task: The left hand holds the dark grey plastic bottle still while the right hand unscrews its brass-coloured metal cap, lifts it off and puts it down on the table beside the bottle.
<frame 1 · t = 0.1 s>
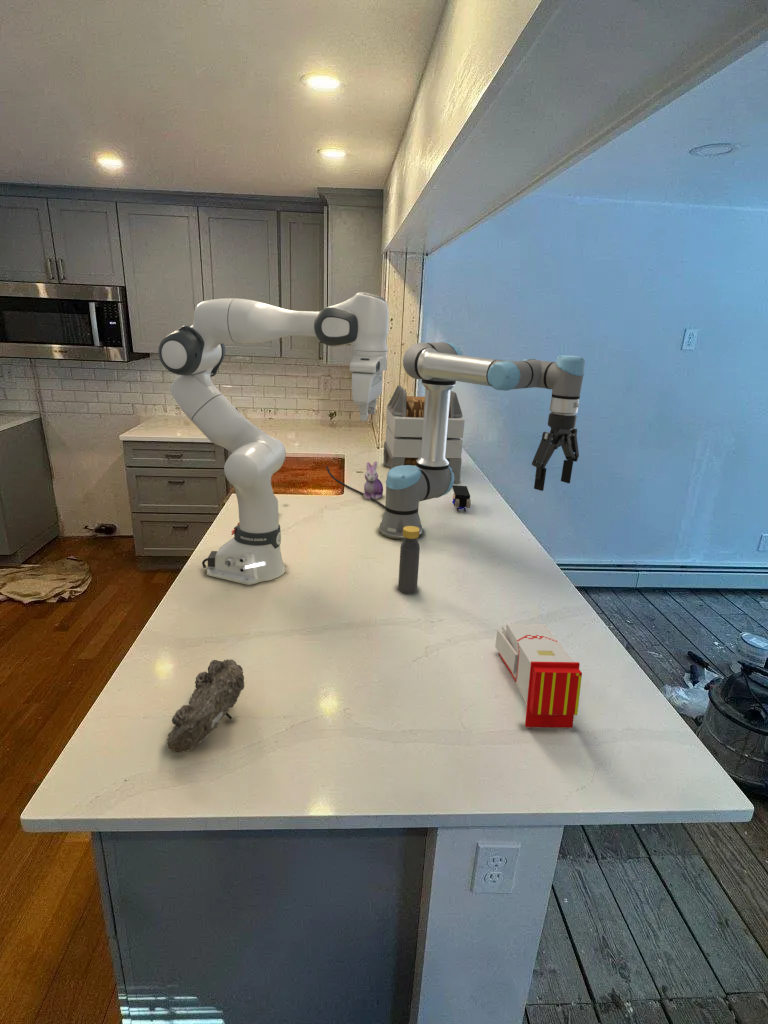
left hand: (367, 417, 147), 48 cm above the counter, tool pointing down, fingers open, 8 cm apart
right hand: (552, 485, 166), 28 cm above the counter, tool pointing down, fingers open, 13 cm apart
figurine: (372, 497, 237), on the counter
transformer: (419, 473, 275), on the counter
toy: (529, 684, 122), on the counter
bottle: (407, 589, 161), on the counter
figurine character: (460, 507, 229), on the counter
cap: (411, 529, 155), point 18 cm above the counter, screwed on, not yet turned
fossil: (212, 717, 108), on the counter
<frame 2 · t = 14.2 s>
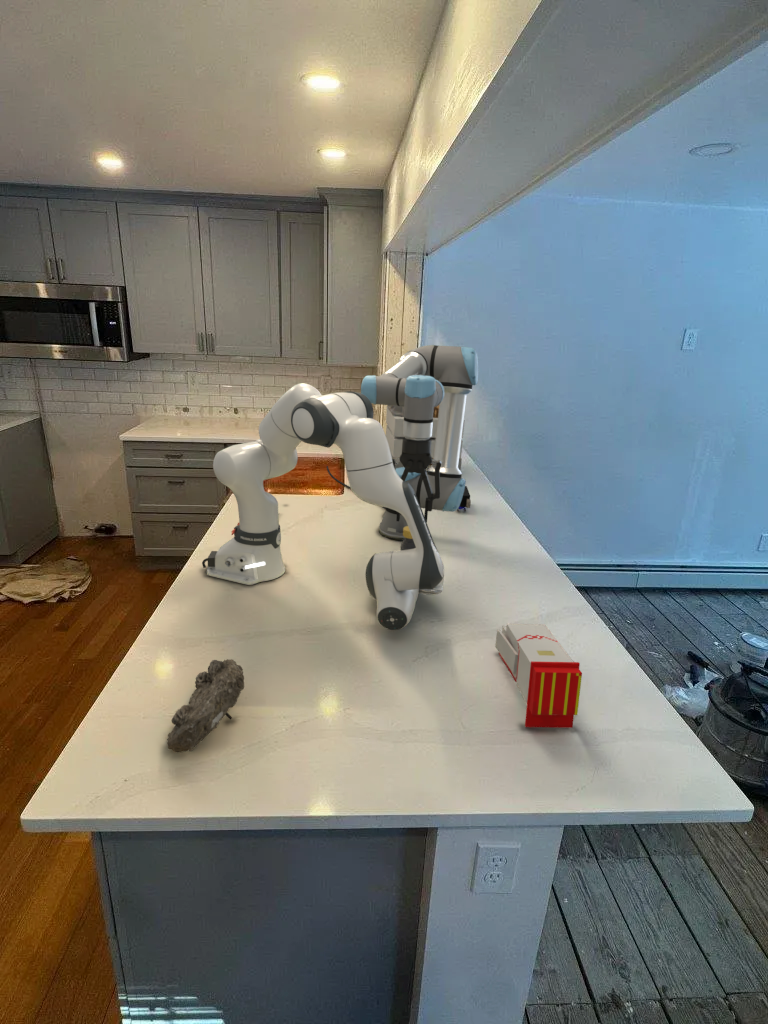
left hand: (409, 566, 159), 7 cm above the counter, tool horizontal, fingers closed on bottle, 5 cm apart
right hand: (411, 520, 154), 21 cm above the counter, tool pointing down, fingers open, 7 cm apart
bottle: (407, 589, 161), on the counter, touching left hand
everything else where it was.
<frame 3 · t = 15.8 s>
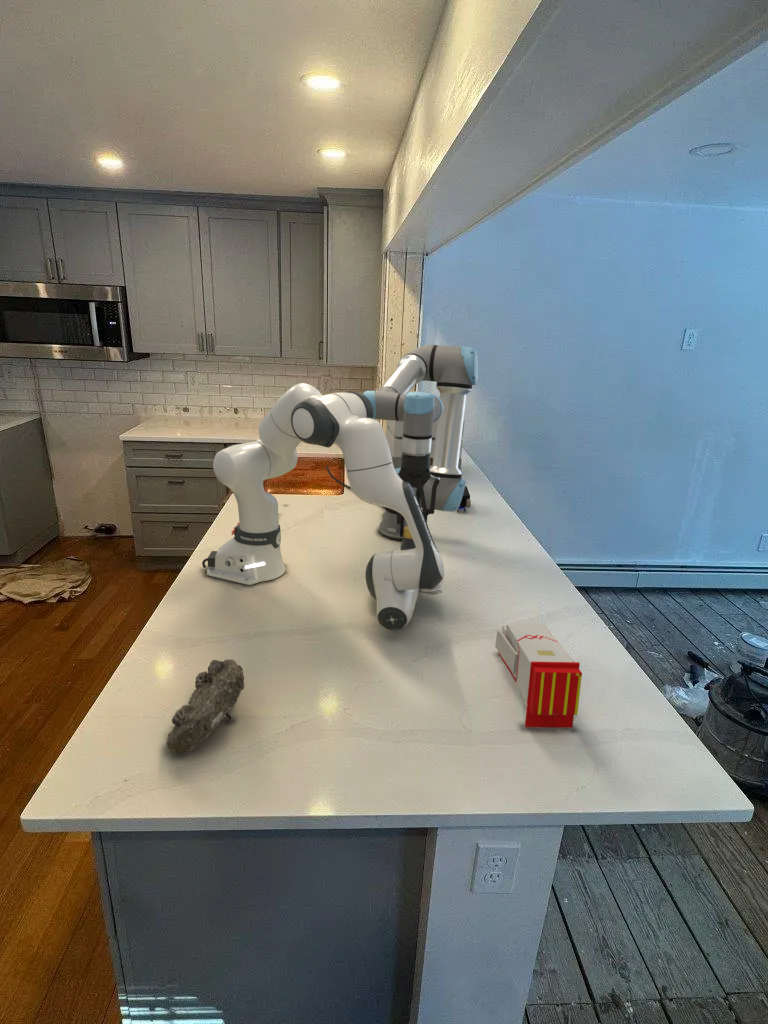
left hand: (409, 566, 159), 7 cm above the counter, tool horizontal, fingers closed on bottle, 5 cm apart
right hand: (411, 535, 155), 16 cm above the counter, tool pointing down, fingers closed on cap, 4 cm apart
bottle: (407, 589, 161), on the counter, touching left hand
cap: (411, 529, 155), point 18 cm above the counter, screwed on, not yet turned, touching right hand
everything else where it was.
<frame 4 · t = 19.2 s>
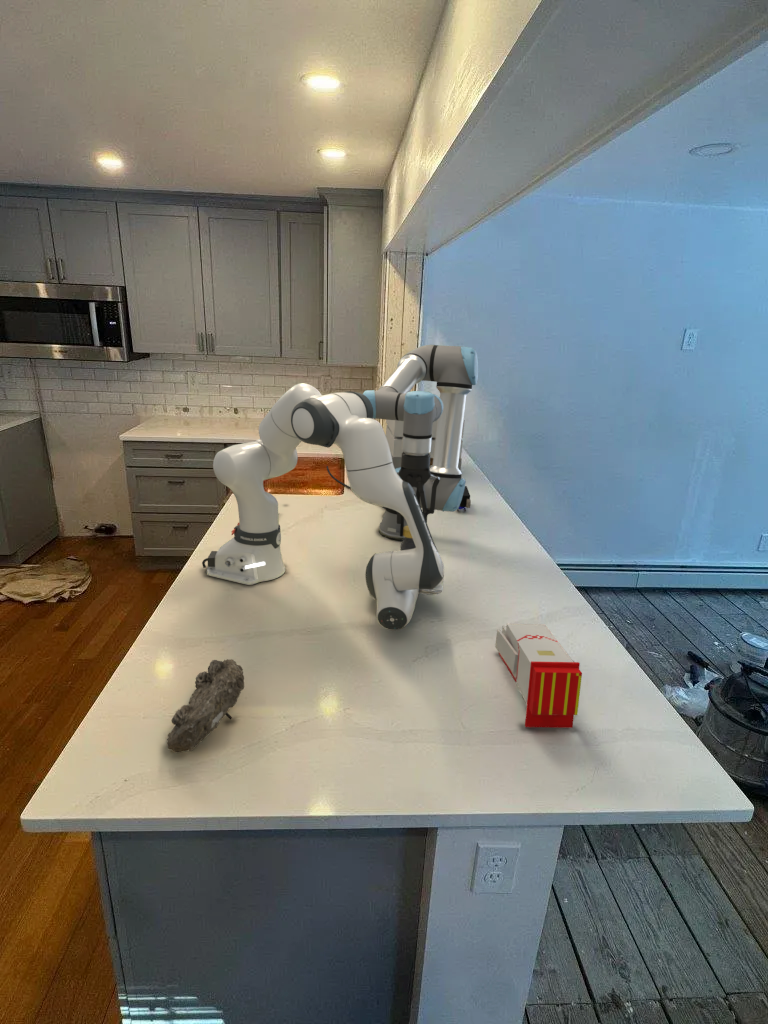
left hand: (409, 566, 159), 7 cm above the counter, tool horizontal, fingers closed on bottle, 5 cm apart
right hand: (410, 535, 155), 16 cm above the counter, tool pointing down, fingers closed on cap, 4 cm apart
bottle: (407, 589, 161), on the counter, touching left hand
cap: (411, 529, 155), point 18 cm above the counter, turned 124° so far, risen 0.1 cm, still on its thread, touching right hand
everything else where it was.
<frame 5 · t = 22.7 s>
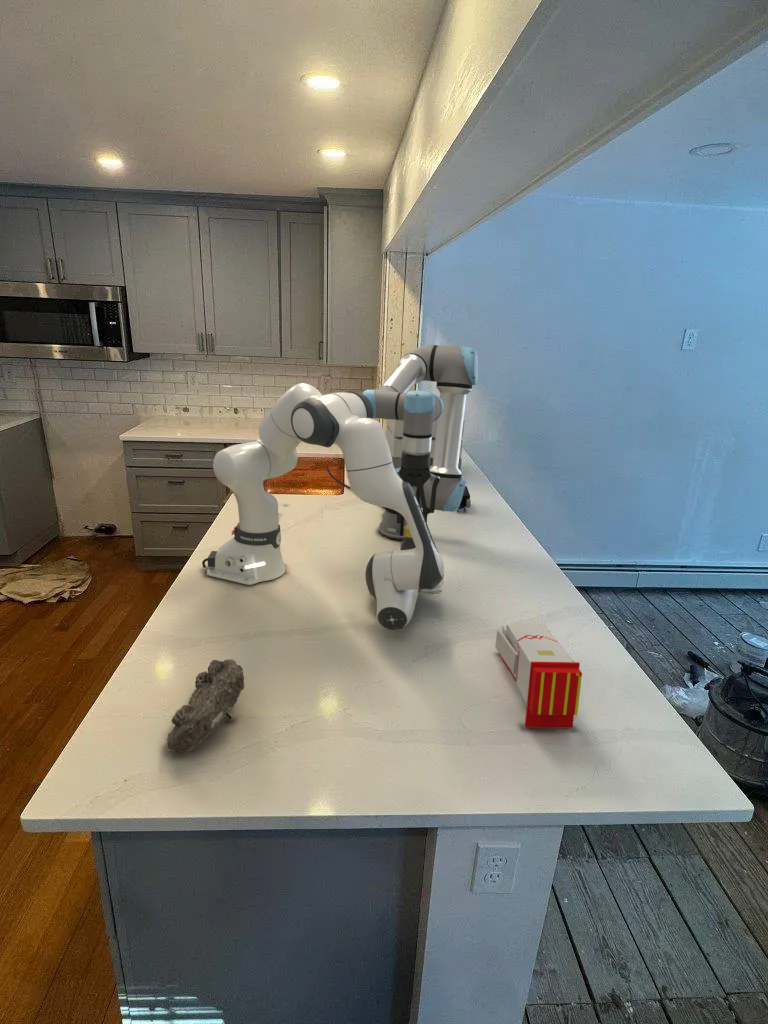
left hand: (409, 566, 159), 7 cm above the counter, tool horizontal, fingers closed on bottle, 5 cm apart
right hand: (411, 534, 155), 17 cm above the counter, tool pointing down, fingers closed on cap, 4 cm apart
bottle: (407, 589, 161), on the counter, touching left hand
cap: (411, 528, 155), point 18 cm above the counter, turned 249° so far, risen 0.3 cm, still on its thread, touching right hand
everything else where it was.
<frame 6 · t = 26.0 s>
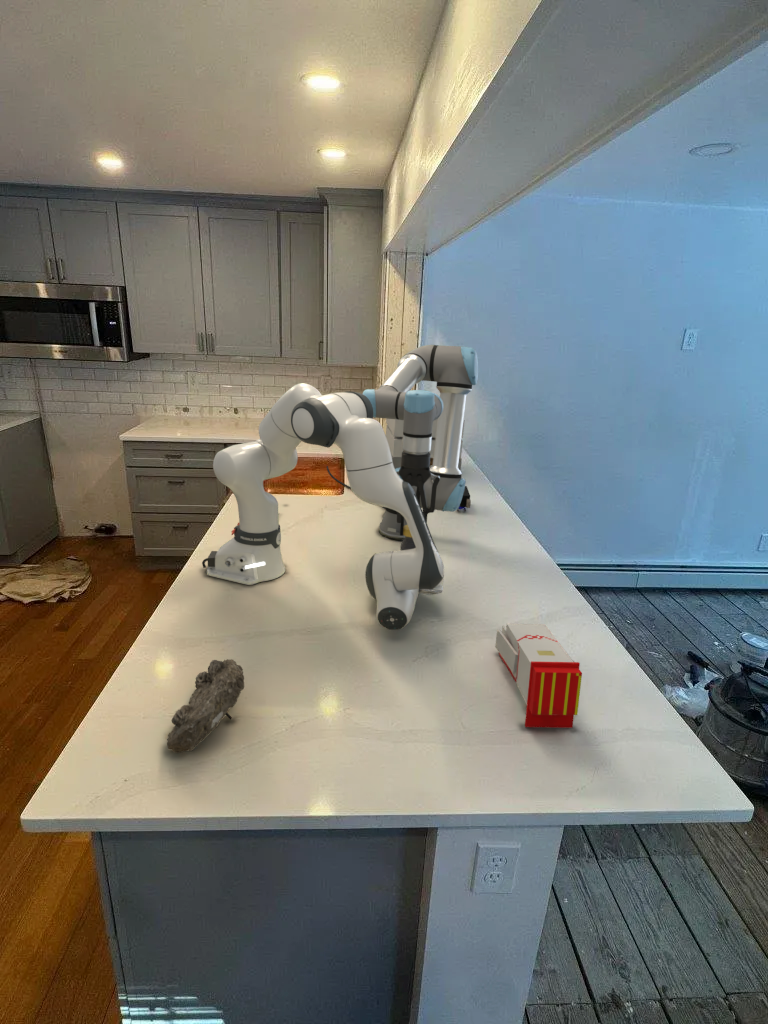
left hand: (409, 566, 159), 7 cm above the counter, tool horizontal, fingers closed on bottle, 5 cm apart
right hand: (411, 534, 155), 17 cm above the counter, tool pointing down, fingers closed on cap, 4 cm apart
bottle: (407, 589, 161), on the counter, touching left hand
cap: (411, 528, 155), point 19 cm above the counter, turned 373° so far, risen 0.4 cm, still on its thread, touching right hand
everything else where it was.
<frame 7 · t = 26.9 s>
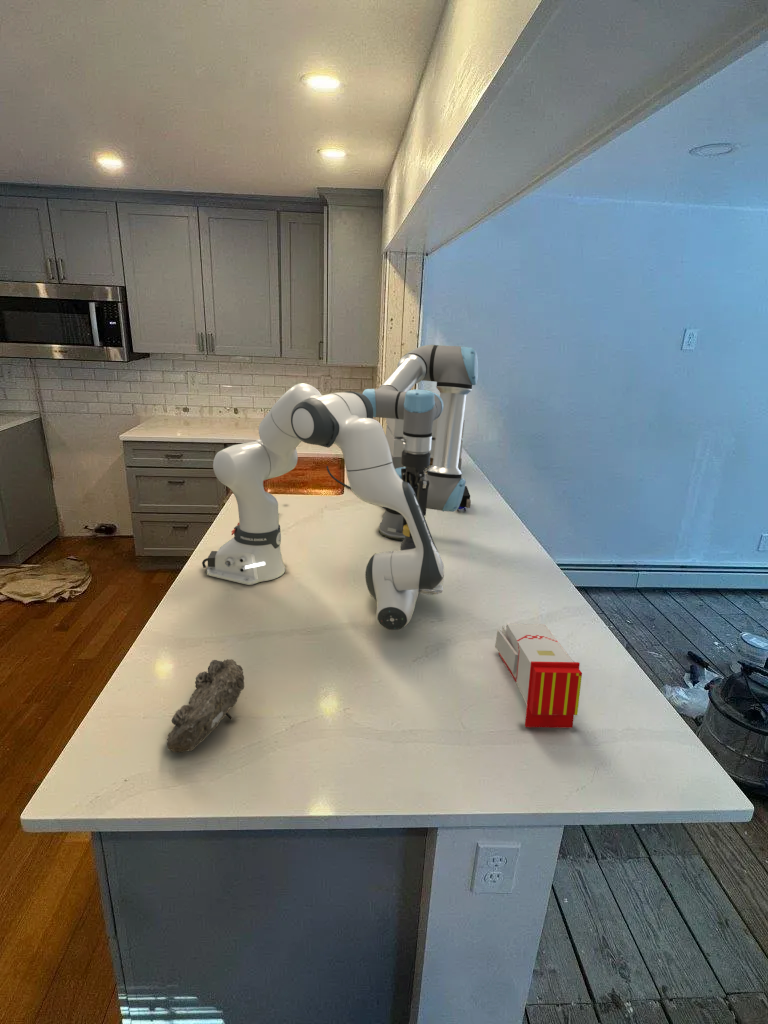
left hand: (409, 566, 159), 7 cm above the counter, tool horizontal, fingers closed on bottle, 5 cm apart
right hand: (411, 533, 155), 17 cm above the counter, tool pointing down, fingers closed on cap, 4 cm apart
bottle: (407, 589, 161), on the counter, touching left hand
cap: (411, 528, 155), point 19 cm above the counter, off its thread, touching right hand
everything else where it was.
when the right hand's fingers open (1 cm above the counter, at t = 32.2 s): cap drops 1 cm, point 2 cm above the counter.
when the left hand's fingers open (7 cm above the counter, at t = 33.5 s): bottle stays where it is, on the counter.
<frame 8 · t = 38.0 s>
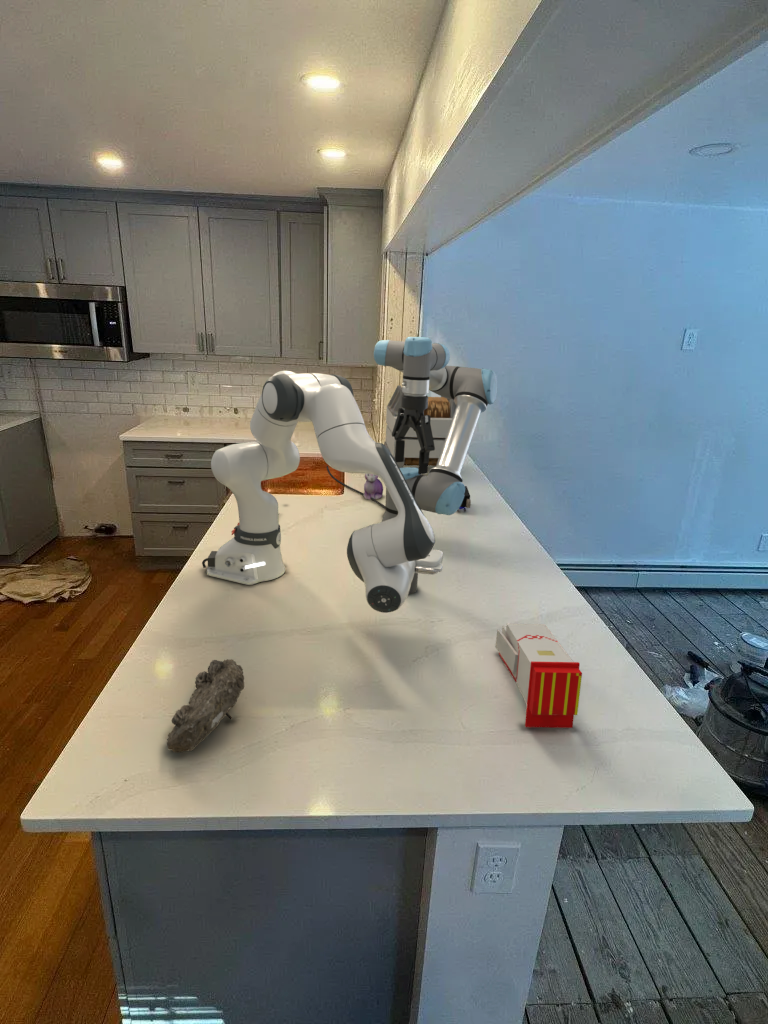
left hand: (404, 544, 142), 19 cm above the counter, tool horizontal, fingers open, 8 cm apart
right hand: (410, 467, 166), 31 cm above the counter, tool pointing down, fingers open, 13 cm apart
bottle: (407, 589, 161), on the counter
cap: (404, 558, 176), point 2 cm above the counter, off its thread
everything else where it was.
at the end: cap came off its thread; cap point 1.7 cm above the counter; the left hand is holding nothing; the right hand is holding nothing; bottle tilted 0°; bottle moved 0.0 cm from its start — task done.
